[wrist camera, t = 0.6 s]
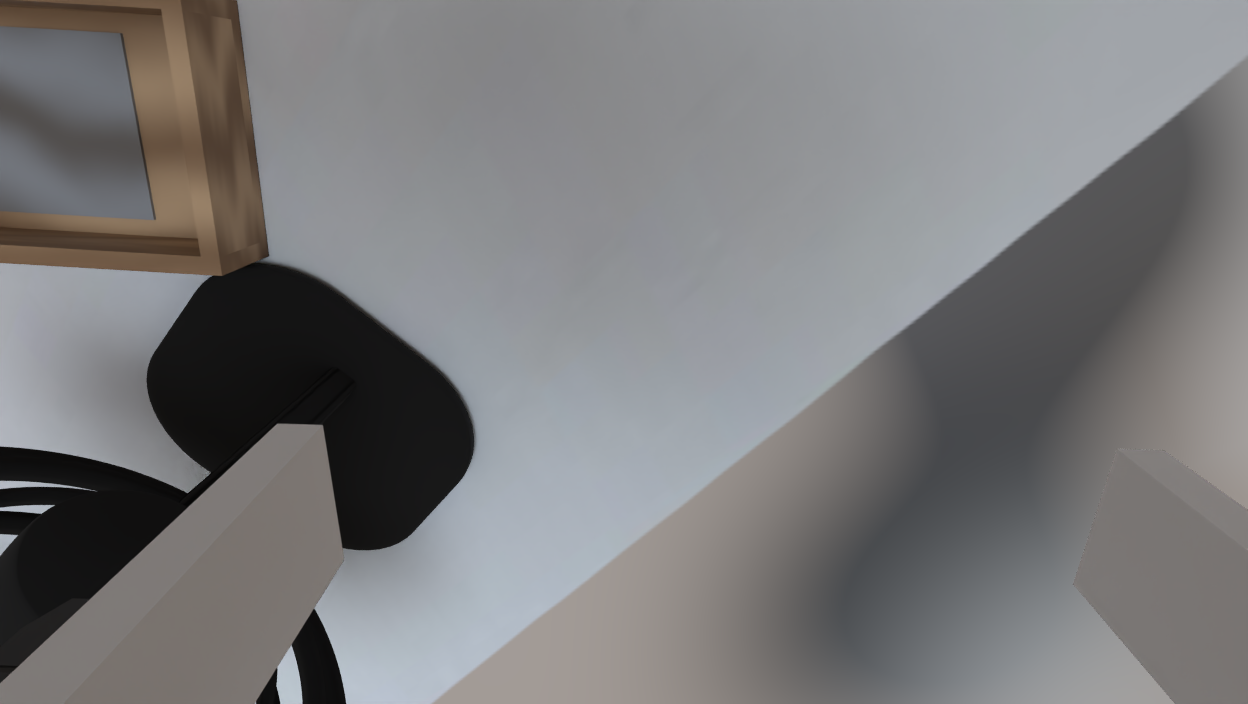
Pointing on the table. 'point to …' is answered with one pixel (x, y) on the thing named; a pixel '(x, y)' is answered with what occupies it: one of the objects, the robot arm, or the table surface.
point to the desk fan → (246, 445)
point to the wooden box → (127, 137)
